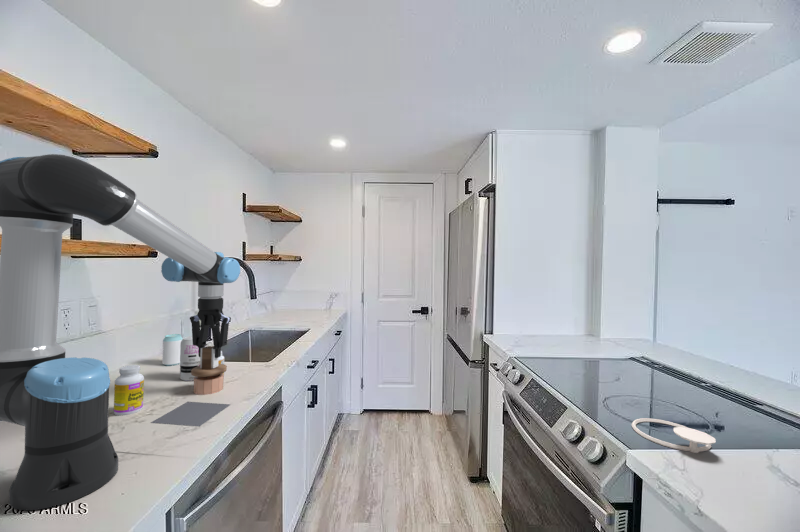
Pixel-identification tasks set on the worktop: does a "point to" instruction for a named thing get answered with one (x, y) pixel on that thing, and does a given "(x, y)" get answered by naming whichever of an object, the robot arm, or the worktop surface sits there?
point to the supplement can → (188, 358)
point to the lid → (208, 365)
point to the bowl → (208, 384)
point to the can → (171, 349)
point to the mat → (191, 414)
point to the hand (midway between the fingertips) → (209, 366)
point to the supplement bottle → (128, 390)
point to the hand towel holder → (683, 432)
